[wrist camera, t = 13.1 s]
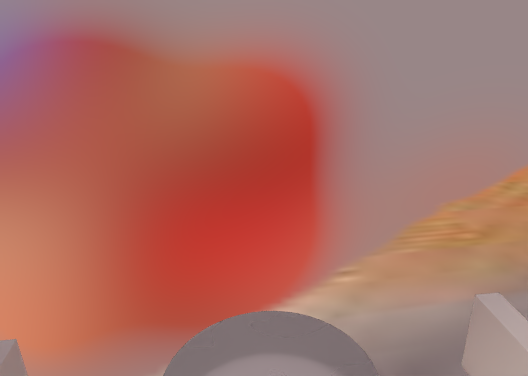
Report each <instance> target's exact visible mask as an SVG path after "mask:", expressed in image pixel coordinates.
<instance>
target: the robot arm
mask: <svg viewBox="0 0 528 376" xmlns="http://www.w3.org/2000/svg"><path fill="white" fill-rule="evenodd" d="M461 366H462V367H463V368H464V370H465V371H466V373H467V374H468V375H469V376H528V320H527V319H526V318H525V317H524V316H523V315H522V314H521V313H520V312H519V311H518V310H517V309H515V308H514V307H513V306H512V305H511V304H510V303H509V302H508V301H507V300H506V299H505V298H504V297H503V296H502V295H501V294H500V293H489V294H478V295H475V298H474V303H473V308H472V313H471V318H470V323H469V328H468V333H467V338H466V343H465V348H464V353H463V358H462V363H461ZM0 376H28V375H27V371H26V368H25V365H24V362H23V359H22V356H21V353H20V349H19V346H18V343H17V340H16V339H14V340H3V341H0Z"/></svg>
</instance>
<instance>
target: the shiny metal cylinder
mask: <svg viewBox="0 0 528 376" xmlns="http://www.w3.org/2000/svg"><path fill="white" fill-rule="evenodd" d="M163 376H378V373H377V371H376V369H375V367H374V365H373V363H372V362H371V360H370V359H369V357H368V356H367V354H366V353H365V352H364V351H363V349H362V348H361V347H360V346H359V345H358V344H357V343H356V342H355V341H354V340H353V339H351V338H350V337H349V336H348V335H346V334H345V333H344V332H342V331H341V330H339V329H337V328H336V327H334V326H332V325H330V324H328V323H326V322H324V321H321V320H319V319H316V318H313V317H310V316H306V315H302V314H298V313H291V312H282V311H261V312H252V313H247V314H242V315H238V316H234V317H231V318H228V319H226V320H223V321H220V322H218V323H216V324H214V325H212V326H210V327H208V328H206V329H204V330H203V331H201V332H200V333H198V334H197V335H195V336H194V337H193V338H192V339H190V340H189V341H188V342H187V343H186V344H185V345H184V346H183V347H182V348H181V349H180V350H179V351H178V352H177V354H176V355H175V356H174V357H173V359H172V360H171V362H170V364H169V365H168V367H167V369H166V371H165V373H164V375H163Z"/></svg>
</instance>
